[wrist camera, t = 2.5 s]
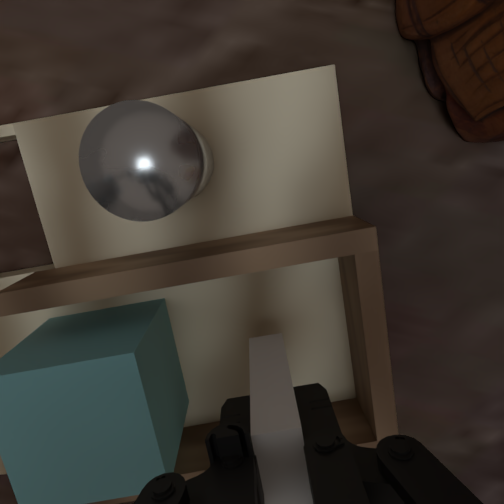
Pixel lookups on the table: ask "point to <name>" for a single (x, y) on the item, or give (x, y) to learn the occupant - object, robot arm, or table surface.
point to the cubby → (242, 262)
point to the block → (92, 405)
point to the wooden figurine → (461, 59)
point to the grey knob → (143, 160)
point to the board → (214, 231)
